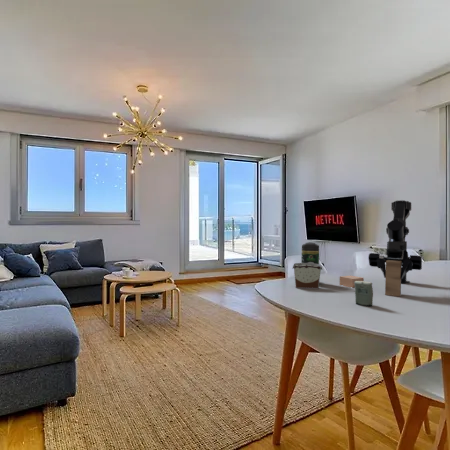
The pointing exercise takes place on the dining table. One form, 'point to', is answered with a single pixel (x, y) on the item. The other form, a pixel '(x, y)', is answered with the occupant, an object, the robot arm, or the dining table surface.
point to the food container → (307, 275)
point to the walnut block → (393, 278)
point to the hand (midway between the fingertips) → (392, 277)
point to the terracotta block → (349, 280)
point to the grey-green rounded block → (363, 293)
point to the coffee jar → (310, 253)
